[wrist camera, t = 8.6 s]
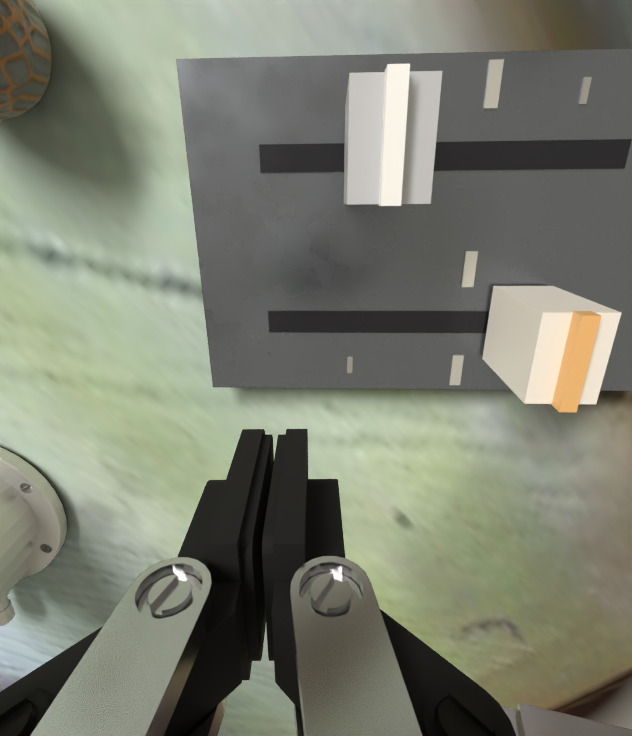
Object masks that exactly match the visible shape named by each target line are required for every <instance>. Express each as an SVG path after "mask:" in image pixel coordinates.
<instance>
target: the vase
mask: <svg viewBox="0 0 632 736" xmlns="http://www.w3.org/2000/svg"><path fill="white" fill-rule="evenodd" d="M51 65H52V58H51V47H50V41H49V37H48V33H47V30H46V27H45V25H44V22H43V20H42V17H41V15H40V13H39V11H38V9H37V7H36V5H35V3H34V2H33V0H0V121H3V120H7V119H11V118H14V117H17V116H19V115H21V114H23V113H25V112H27V111H28V110H30V109H31V108H32V107H34V106H35V105H36V104H37V103H38V102H39V100H40V99H41V98H42V96H43V94H44V92H45V90H46V88H47V86H48V83H49V79H50V74H51Z"/></svg>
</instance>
